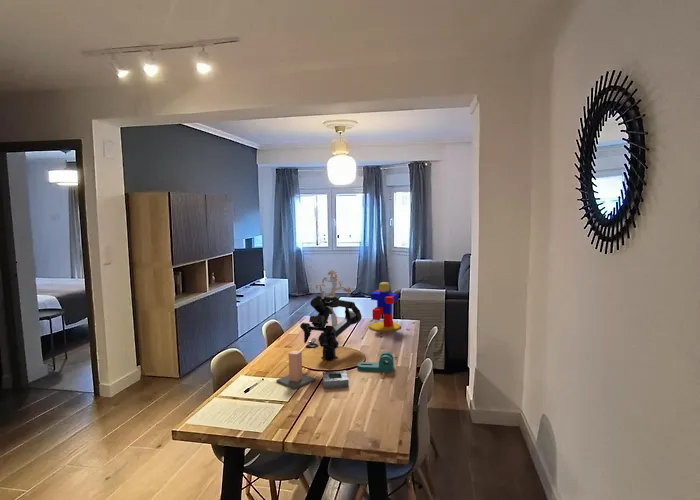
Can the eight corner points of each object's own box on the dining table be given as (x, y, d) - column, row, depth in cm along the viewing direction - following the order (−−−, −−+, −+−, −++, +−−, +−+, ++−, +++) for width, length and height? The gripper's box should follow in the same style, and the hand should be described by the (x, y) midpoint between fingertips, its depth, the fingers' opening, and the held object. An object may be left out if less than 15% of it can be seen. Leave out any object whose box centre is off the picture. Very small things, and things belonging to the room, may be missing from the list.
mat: (298, 373, 212) (297, 371, 212) (315, 380, 203) (315, 378, 203) (276, 381, 203) (276, 379, 203) (294, 389, 194) (293, 387, 194)
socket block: (322, 379, 205) (322, 372, 204) (345, 377, 206) (345, 370, 206) (324, 389, 194) (324, 381, 193) (348, 387, 195) (348, 379, 195)
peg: (294, 376, 206) (293, 350, 204) (302, 378, 204) (301, 351, 203) (289, 380, 202) (288, 353, 200) (297, 381, 200) (296, 354, 199)
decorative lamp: (352, 337, 267) (351, 273, 263) (314, 338, 268) (312, 274, 264) (352, 325, 295) (351, 266, 291) (318, 325, 295) (316, 267, 291)
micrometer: (315, 349, 249) (315, 345, 249) (304, 348, 251) (304, 344, 251) (324, 341, 263) (324, 337, 263) (313, 340, 265) (313, 336, 265)
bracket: (393, 367, 218) (393, 352, 217) (392, 372, 212) (392, 356, 211) (358, 366, 221) (357, 351, 220) (356, 371, 214) (355, 355, 214)
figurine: (405, 324, 294) (404, 280, 291) (395, 333, 274) (394, 286, 271) (375, 321, 303) (374, 279, 299) (363, 330, 283) (362, 284, 280)
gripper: (301, 307, 225) (290, 334, 216) (333, 310, 216) (322, 338, 208) (309, 318, 232) (299, 344, 224) (340, 321, 224) (331, 349, 216)
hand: (312, 344), depth 217 cm, fingers open, 9 cm apart
